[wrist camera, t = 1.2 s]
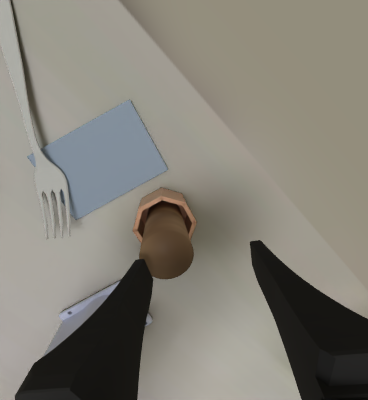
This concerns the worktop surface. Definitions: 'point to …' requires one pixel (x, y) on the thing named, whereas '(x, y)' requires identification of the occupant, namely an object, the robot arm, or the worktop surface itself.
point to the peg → (166, 241)
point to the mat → (104, 159)
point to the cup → (155, 198)
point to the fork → (45, 170)
